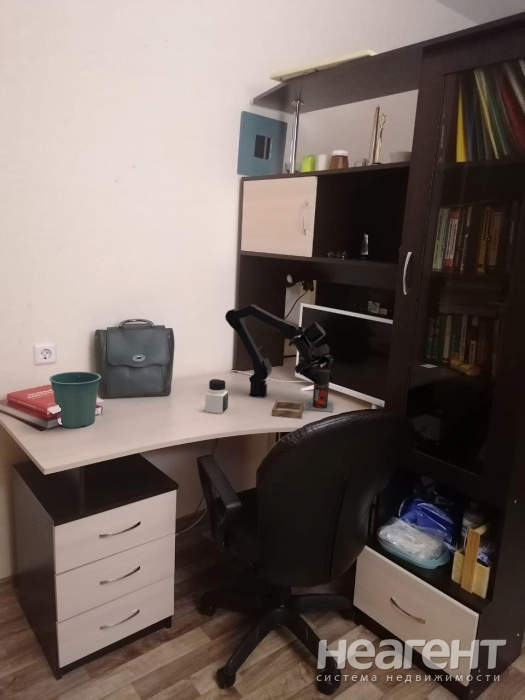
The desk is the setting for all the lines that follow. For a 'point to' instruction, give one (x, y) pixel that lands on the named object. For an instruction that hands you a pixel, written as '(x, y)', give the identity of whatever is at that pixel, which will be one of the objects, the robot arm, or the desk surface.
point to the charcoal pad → (328, 409)
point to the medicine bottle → (216, 397)
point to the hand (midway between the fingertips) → (325, 381)
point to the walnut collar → (287, 412)
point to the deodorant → (321, 388)
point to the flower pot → (76, 397)
